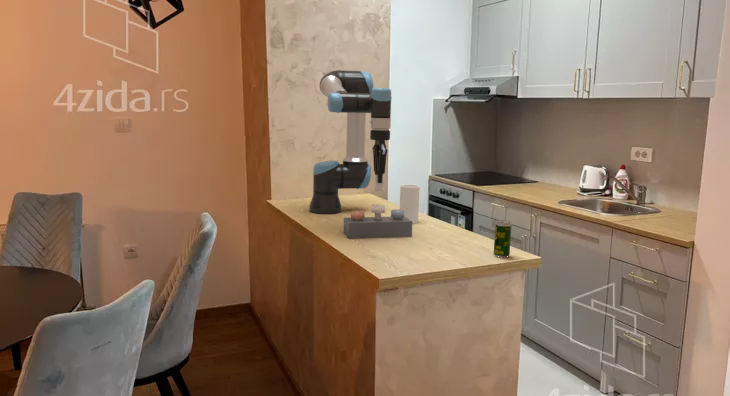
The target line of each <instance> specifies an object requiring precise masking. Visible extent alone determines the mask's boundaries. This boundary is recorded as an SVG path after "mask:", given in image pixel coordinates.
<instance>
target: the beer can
mask: <svg viewBox="0 0 730 396" xmlns="http://www.w3.org/2000/svg"><path fill="white" fill-rule="evenodd" d="M494 225H495V226H494V240H493V242H494V243H493V255H495V256H499V257H507V256H509V257H510V253H511V241H512V240H511V239H512V236H511V235H512V222H511V221H510V220H504V219H503V220H501V219H500V220H496V221H495V224H494ZM495 256H494V257H495ZM499 257H498V258H499ZM507 258H508V257H507Z"/></svg>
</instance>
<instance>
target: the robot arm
mask: <svg viewBox="0 0 730 396" xmlns="http://www.w3.org/2000/svg"><path fill="white" fill-rule="evenodd" d="M319 90H320V91H321V93H322V95H323V96H325V97H327V110H328V111H329V112H330V113H335V114H339V113H341V114H342V113H346V145H345V147H346V151H345V154H346V155H345V157H344V158H342V163H340V161H339V160H326V161H320V162H317V163H315V164H314V165H313V169H312V170H313V171H312V172H313V173H312V177H313V180H312V181H313V184H312V185H313V187H312V189H313V190H312V191H313V192H312V198H311V200H310V202H309V203H310V204H309V207H308V208H309V212H311V213H314V214H319V215H322V214H323V215H328V214H329V215H331V214H339V213H342V208H343V207H342V204H341V200H340V197H339V190H342V189H343V190H346V189H353V190H354V189H357V190H359V189H365V188H368V187H369V184H370V182H371V178H372V165H371V164H370V163H369V161H368V159H367V158H366V157H365V156H366V154H365V151H366V148H365V147H366V114H370V120H369V124H370V134H369V135H370V136H369V138H370V140H371V141H374V144H373V146H372V155H373V156H372V159H373V172H374V175H375V176H374V191H375V192H383V191H384V189H383V187H384V186H383V184H384V175H385V173H386V166H387V165H386V164H387V154H388V149H387V145H386V141H389V140H391V130H389V129H391V125H392V124H391V122H392V119H391V117H392V116H391V114H392V90H391V88H388V87H374V81H373V76H372V74H371V73H370V72H369V71H364V70H342V69H339V70H338V69H337V70H332V71H329V72H327V73H326V74H325V75H323V76H322V77H321V78H320V81H319Z"/></svg>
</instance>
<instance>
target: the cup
mask: <svg viewBox="0 0 730 396" xmlns="http://www.w3.org/2000/svg"><path fill="white" fill-rule="evenodd" d="M399 189H400V190H399V210H404V216H405V217H407V218H408V219H410V220H411V221H412V225H414V224H418V223H419V212H420V185H419V184H413V183H403V184H400V187H399Z"/></svg>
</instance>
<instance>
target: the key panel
mask: <svg viewBox="0 0 730 396" xmlns="http://www.w3.org/2000/svg"><path fill="white" fill-rule="evenodd" d="M343 232H344V233H343V234H344V235H345V237H346V238H347V239H348V240H349V239H354V238H355V239H370V238H371V239H377V238H378V239H379V238H382V239H384V238H398V237H399V238H406V237H407V238H408V237H409V238H410V237H413V224H412V221H411V220H410V219H408V218H407V217H405V216H404V217H403V218H401V220H394V218H393V217H391V216H381V220H375V216H365V217H364V219H361V221H355V219H353V218H351V217H343Z"/></svg>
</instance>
